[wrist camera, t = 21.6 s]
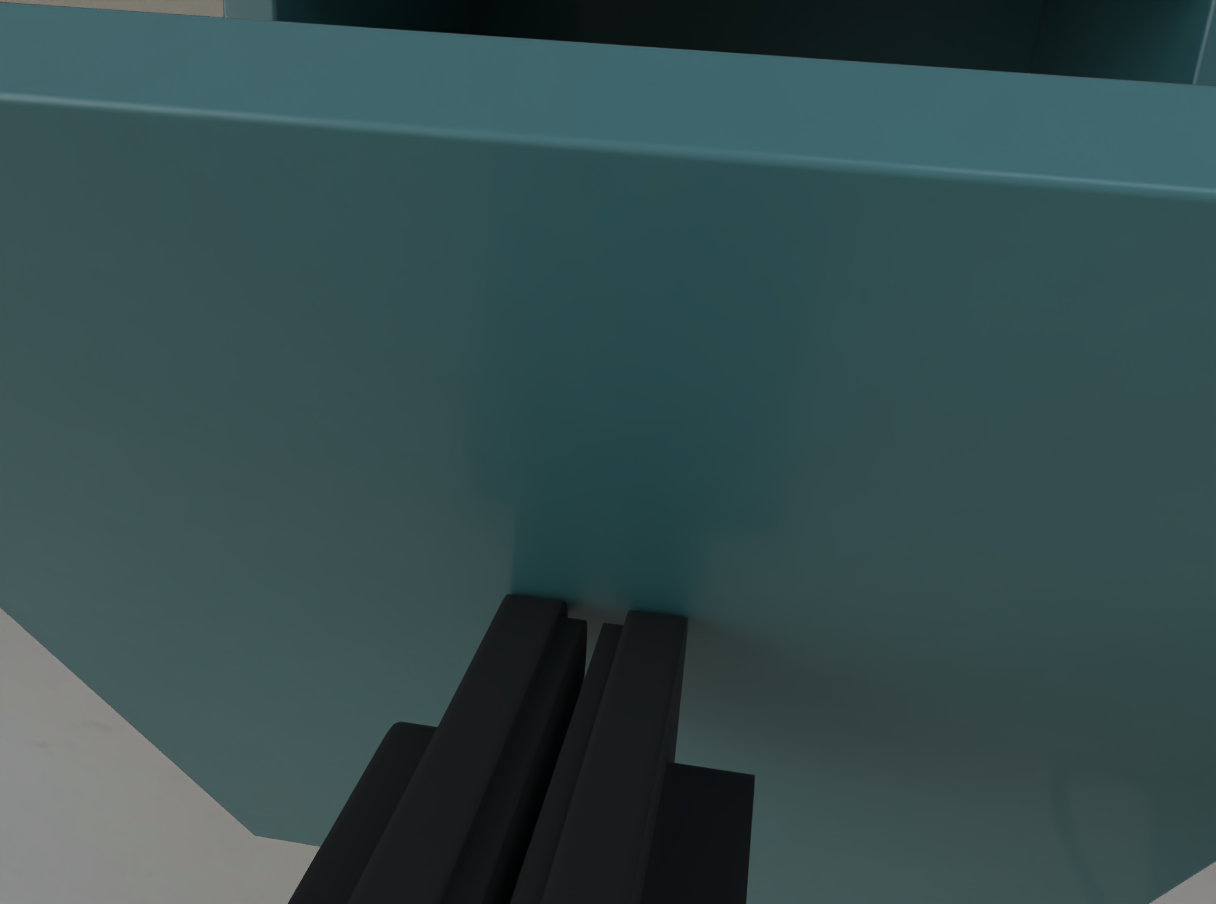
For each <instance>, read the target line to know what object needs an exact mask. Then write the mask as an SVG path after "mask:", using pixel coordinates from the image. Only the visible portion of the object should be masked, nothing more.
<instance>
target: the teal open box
mask: <svg viewBox="0 0 1216 904" xmlns="http://www.w3.org/2000/svg"><path fill="white" fill-rule="evenodd" d="M223 10H224V18H239V19H253V20H267V21H282V22H296V23H311V24H325V25H339V26H354V27H368V28H383V29H397V30H411V31H426V32H440V33H455V34H469V35H484V36H498V37H512V38H527V39H541V40H556V41H570V42H584V43H599V44H613V45H628V46H642V47H656V48H671V49H685V50H700V51H714V52H728V53H743V54H757V55H772V56H786V57H801V58H815V59H829V60H844V61H858V62H873V63H887V64H901V65H916V66H930V67H945V68H959V69H973V70H988V71H1002V72H1017V73H1031V74H1045V75H1060V76H1074V77H1089V78H1103V79H1118V80H1132V81H1146V82H1161V83H1175V84H1190V85H1204V86H1216V0H223Z"/></svg>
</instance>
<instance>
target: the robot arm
mask: <svg viewBox="0 0 1216 904" xmlns="http://www.w3.org/2000/svg"><path fill="white" fill-rule="evenodd" d="M687 630H688V618H684V617H677V616H669V615H662V614H655V613H647V612H640V611H632V610H629V611H628V614H627V616H626V620H625V623H624V625H618V624H611V623H603V625H602V628H601V631H600V634H599V637H598V640H597V643H596V646H595V649H594V652H593V655H592V658H591V661H590V664H589V667H588V670H587V673H586V676H585V665H586V648H587V621H586V620H582V619H574V618H568V608H567V604H566V602H565V601H558V600H550V599H543V598H536V597H528V596H521V595H513V594H507V595H506V596H505V597H504V599H503V600H502V602H501V604H500V606H499V608H498V610H497V612H496V614H495V616H494V618H493V620H492V622H491V624H490V626H489V628H488V630H487V632H486V634H485V636H484V638H483V640H482V641H481V643H480V645H479V647H478V649H477V651H476V653H475V655H474V657H473V659H472V661H471V663H470V665H469V667H468V669H467V671H466V673H465V675H464V677H463V679H462V681H461V682H460V684H459V686H458V688H457V690H456V692H455V694H454V696H453V698H452V700H451V702H450V704H449V706H448V708H447V710H446V712H445V714H444V716H443V718H442V720H441V722H440V723H439V725H438V727H434V726H428V725H421V724H415V723H408V722H401V721H400V722H397V723H395V724H393V725H392V727H391V728H390V729H389V731H388V732H387V733H386V735H385V736H384V738H383V740H382V742H381V743H380V745H379V747H378V748H377V750H376V752H375V754H374V755H373V757H372V759H371V761H370V762H369V764H368V766H367V768H366V769H365V771H364V773H363V774H362V776H361V778H360V780H359V781H358V783H357V785H356V787H355V788H354V790H353V792H352V793H351V795H350V797H349V799H348V800H347V802H346V804H345V806H344V807H343V809H342V811H341V813H340V814H339V816H338V818H337V819H336V821H335V823H334V825H333V826H332V828H331V830H330V832H329V833H328V835H327V837H326V838H325V840H324V842H323V844H322V845H321V847H320V849H319V851H318V852H317V854H316V856H315V858H314V859H313V861H312V863H311V864H310V866H309V868H308V870H307V871H306V873H305V875H304V877H303V878H302V880H301V882H300V883H299V885H298V887H297V889H296V890H295V892H294V894H293V896H292V897H291V899H290V901H289V903H288V904H746V899H747V885H748V871H749V857H750V843H751V829H752V815H753V802H754V787H755V775H752V774H745V773H739V772H732V771H726V770H719V769H712V768H706V767H699V766H692V765H686V764H679V763H675V753H676V743H677V733H678V723H679V713H680V702H681V692H682V682H683V672H684V661H685V651H686V641H687Z"/></svg>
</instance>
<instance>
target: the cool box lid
mask: <svg viewBox="0 0 1216 904" xmlns="http://www.w3.org/2000/svg"><path fill="white" fill-rule="evenodd" d="M507 594H513V595H521V596H528V597H536V598H543V599H550V600H558V601H565V602H566V604H567V608H568V618H574V619H582V620H586V621H587V648H586V665H585V676H586V673H587V670H588V667H589V664H590V661H591V658H592V655H593V652H594V649H595V646H596V643H597V640H598V637H599V634H600V631H601V628H602V625H603V623H611V624H618V625H624V623H625V620H626V616H627V614H628V611H629V610H632V611H640V612H647V613H655V614H662V615H669V616H677V617H684V618H688V630H687V641H686V651H685V661H684V672H683V682H682V692H681V702H680V713H679V723H678V733H677V743H676V753H675V763H679V764H686V765H692V766H699V767H706V768H712V769H719V770H726V771H732V772H739V773H745V774H752V775H755V787H754V802H753V815H752V829H751V843H750V857H749V871H748V885H747V899H746V904H1149V903H1151V902H1152V901H1154V900H1156V899H1157V898H1159V897H1160V896H1162V895H1163V894H1165V893H1167V892H1168V891H1170V890H1171V889H1173V888H1174V887H1176V886H1178V885H1179V884H1181V883H1182V882H1184V881H1185V880H1187V879H1189V878H1190V877H1192V876H1193V875H1195V874H1196V873H1198V872H1200V871H1201V870H1203V869H1204V868H1206V867H1207V866H1209V865H1211V864H1212V863H1214V862H1215V861H1216V86H1204V85H1190V84H1175V83H1161V82H1146V81H1132V80H1118V79H1103V78H1089V77H1074V76H1060V75H1045V74H1031V73H1017V72H1002V71H988V70H973V69H959V68H945V67H930V66H916V65H901V64H887V63H873V62H858V61H844V60H829V59H815V58H801V57H786V56H772V55H757V54H743V53H728V52H714V51H700V50H685V49H671V48H656V47H642V46H628V45H613V44H599V43H584V42H570V41H556V40H541V39H527V38H512V37H498V36H484V35H469V34H455V33H440V32H426V31H411V30H397V29H383V28H368V27H354V26H339V25H325V24H311V23H296V22H282V21H267V20H253V19H239V18H224V17H210V16H195V15H181V14H166V13H152V12H138V11H123V10H109V9H94V8H80V7H66V6H51V5H37V4H22V3H8V2H0V608H1V609H3V610H4V611H5V612H6V613H7V614H8V615H9V616H10V617H11V618H13V619H14V620H15V621H16V622H17V623H18V624H19V625H20V626H21V627H23V628H24V629H25V630H26V631H27V632H28V633H29V634H30V635H32V636H33V637H34V638H35V639H36V640H37V641H38V642H39V643H40V644H42V645H43V646H44V647H45V648H46V649H47V650H48V651H49V652H50V653H52V654H53V655H54V656H55V657H56V658H57V659H58V660H59V661H61V662H62V663H63V664H64V665H65V666H66V667H67V668H68V669H69V670H71V671H72V672H73V673H74V674H75V675H76V676H77V677H78V678H79V679H81V680H82V681H83V682H84V683H85V684H86V685H87V686H88V687H90V688H91V689H92V690H93V691H94V692H95V693H96V694H97V695H98V696H100V697H101V698H102V699H103V700H104V701H105V702H106V703H107V704H108V705H110V706H111V707H112V708H113V709H114V710H115V711H116V712H117V713H119V714H120V715H121V716H122V717H123V718H124V719H125V720H126V721H127V722H129V723H130V724H131V725H132V726H133V727H134V728H135V729H136V730H138V731H139V732H140V733H141V734H142V735H143V736H144V737H145V738H146V739H148V740H149V741H150V742H151V743H152V744H153V745H154V746H155V747H156V748H158V749H159V750H160V751H161V752H162V753H163V754H164V755H165V756H167V757H168V758H169V759H170V760H171V761H172V762H173V763H174V764H175V765H177V766H178V767H179V768H180V769H181V770H182V771H183V772H184V773H185V774H187V775H188V776H189V777H190V778H191V779H192V780H193V781H194V782H196V783H197V784H198V785H199V786H200V787H201V788H202V789H203V790H204V791H206V792H207V793H208V794H209V795H210V796H211V797H212V798H213V799H214V800H216V801H217V802H218V803H219V804H220V805H221V806H222V807H223V808H225V809H226V810H227V811H228V812H229V813H230V814H231V815H232V816H233V817H235V818H236V819H237V820H238V821H239V822H240V823H241V824H242V825H243V826H245V827H246V828H247V829H248V830H249V831H250V832H251V833H252V834H254V835H255V836H261V837H267V838H273V839H279V840H285V841H291V842H297V843H303V844H309V845H315V846H321V845H322V844H323V842H324V840H325V838H326V837H327V835H328V833H329V832H330V830H331V828H332V826H333V825H334V823H335V821H336V819H337V818H338V816H339V814H340V813H341V811H342V809H343V807H344V806H345V804H346V802H347V800H348V799H349V797H350V795H351V793H352V792H353V790H354V788H355V787H356V785H357V783H358V781H359V780H360V778H361V776H362V774H363V773H364V771H365V769H366V768H367V766H368V764H369V762H370V761H371V759H372V757H373V755H374V754H375V752H376V750H377V748H378V747H379V745H380V743H381V742H382V740H383V738H384V736H385V735H386V733H387V732H388V731H389V729H390V728H391V727H392V725H393V724H395V723H397V722H400V721H401V722H408V723H415V724H421V725H428V726H434V727H438V725H439V723H440V722H441V720H442V718H443V716H444V714H445V712H446V710H447V708H448V706H449V704H450V702H451V700H452V698H453V696H454V694H455V692H456V690H457V688H458V686H459V684H460V682H461V681H462V679H463V677H464V675H465V673H466V671H467V669H468V667H469V665H470V663H471V661H472V659H473V657H474V655H475V653H476V651H477V649H478V647H479V645H480V643H481V641H482V640H483V638H484V636H485V634H486V632H487V630H488V628H489V626H490V624H491V622H492V620H493V618H494V616H495V614H496V612H497V610H498V608H499V606H500V604H501V602H502V600H503V599H504V597H505V596H506V595H507Z"/></svg>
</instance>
